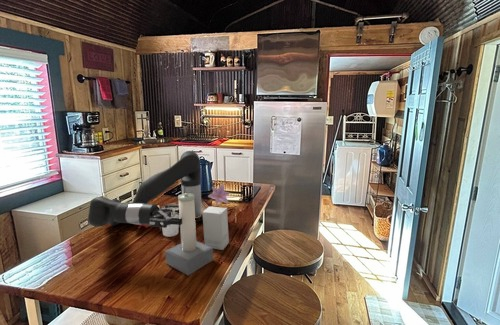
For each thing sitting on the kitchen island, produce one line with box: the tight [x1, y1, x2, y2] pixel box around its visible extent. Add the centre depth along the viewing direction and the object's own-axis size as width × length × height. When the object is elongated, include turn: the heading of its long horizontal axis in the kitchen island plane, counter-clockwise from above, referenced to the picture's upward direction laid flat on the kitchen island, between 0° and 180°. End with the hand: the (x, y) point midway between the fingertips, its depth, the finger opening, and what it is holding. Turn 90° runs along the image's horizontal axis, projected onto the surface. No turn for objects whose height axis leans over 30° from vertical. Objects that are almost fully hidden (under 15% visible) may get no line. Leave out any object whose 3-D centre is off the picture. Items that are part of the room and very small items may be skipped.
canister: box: [177, 193, 197, 252], centre depth 102 cm, size 6×6×21 cm
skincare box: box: [202, 205, 230, 251], centre depth 115 cm, size 8×7×16 cm
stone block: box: [164, 240, 214, 276], centre depth 104 cm, size 12×12×5 cm
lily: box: [207, 183, 231, 206], centre depth 164 cm, size 12×12×10 cm
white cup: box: [161, 212, 180, 238], centre depth 126 cm, size 8×8×10 cm
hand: (186, 216), depth 101 cm, fingers open, 8 cm apart
